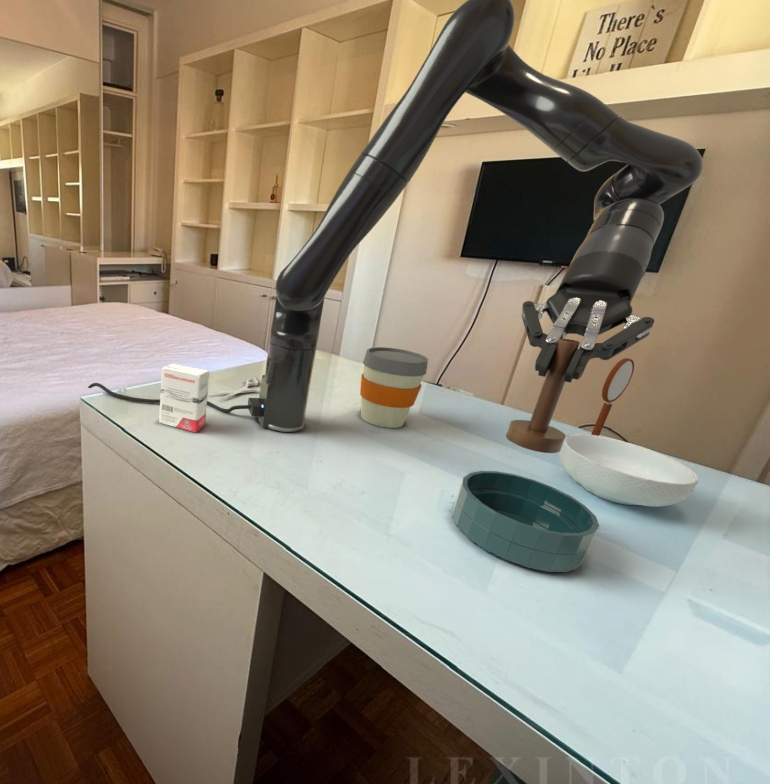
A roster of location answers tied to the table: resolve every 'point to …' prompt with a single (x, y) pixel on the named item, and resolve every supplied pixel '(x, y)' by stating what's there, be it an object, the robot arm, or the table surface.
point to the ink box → (183, 397)
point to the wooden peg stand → (545, 406)
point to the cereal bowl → (625, 471)
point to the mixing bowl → (524, 521)
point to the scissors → (243, 388)
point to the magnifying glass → (614, 389)
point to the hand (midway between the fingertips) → (555, 375)
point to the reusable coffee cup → (390, 385)
